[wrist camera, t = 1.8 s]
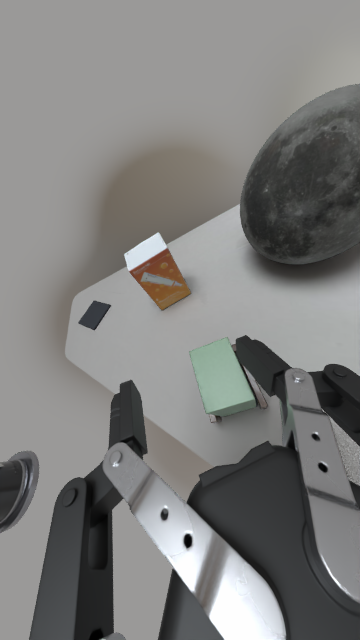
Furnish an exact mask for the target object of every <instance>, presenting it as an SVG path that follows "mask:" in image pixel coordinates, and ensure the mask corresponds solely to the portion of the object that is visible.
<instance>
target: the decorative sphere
mask: <svg viewBox="0 0 360 640" xmlns="http://www.w3.org/2000/svg"><path fill="white" fill-rule="evenodd" d="M240 217H241V224H242V228H243V231H244V233H245V236H246V238H247V239H248V241H249V243H250V244H251V245H252V246H253V248H254V249H255V250H256V251H258V252H259V253H260V254H261V255H263V256H264V257H266V258H268V259H270V260H273V261H276V262H280V263H285V264H307V263H313V262H317V261H321V260H324V259H327V258H330V257H333V256H335V255H337V254H340V253H342V252H344V251H346V250H348V249H349V248H351V247H353V246H354V245H356V244H358V243H359V242H360V84H355V85H349V86H345V87H342V88H338V89H335V90H333V91H330V92H328V93H326V94H324V95H322V96H319V97H317V98H316V99H314V100H312V101H310V102H309V103H308V104H306V105H304V106H303V107H301V108H300V109H298V110H297V111H296V112H295V113H293V114H292V115H291V116H290V117H289V118H288V119H287V120H285V121H284V122H283V123H282V124H281V125H280V126H279V127H278V128H277V129H276V130H275V132H274V133H273V134H272V135H271V136H270V137H269V139H268V140H267V141H266V142H265V144H264V145H263V147H262V148H261V150H260V151H259V153H258V154H257V156H256V158H255V159H254V161H253V163H252V165H251V167H250V170H249V172H248V174H247V177H246V180H245V183H244V186H243V190H242V195H241V202H240Z"/></svg>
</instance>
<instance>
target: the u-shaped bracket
mask: <svg viewBox="0 0 360 640" xmlns="http://www.w3.org/2000/svg"><path fill="white" fill-rule="evenodd" d="M232 348H233V351H234V353H235V355H236V344H234V345H232ZM236 357H237V355H236ZM237 358H238V357H237ZM240 364H241V366H242V368H243V370H244V372H245V375H246V377H247V379H248V381H249V384H250V386H251V388H252V390H253V392H254V395H255V397H256V399H257V401H258V403H259V406H260V408H261V410H262V409H266V408H267V407H268V405H267V403H266V401H265V399H264V397H263V395H262V393H261V391H260V388H259V386H258V384H257V382H256V380H255V378H254V377H253V376H252V375H251V374H250V373H249V371H248V370H247V369H246V368H245V367H244V366H243V364H242V363H241V362H240ZM209 417H210V420H211V423H217V422H221V417H220V416H217V415H211V414H209Z"/></svg>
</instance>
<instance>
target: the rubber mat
mask: <svg viewBox="0 0 360 640" xmlns="http://www.w3.org/2000/svg"><path fill="white" fill-rule="evenodd" d="M110 306H111V305H109V304H105V303H101V302H97V301H93V303H92V304H91V305H90V307H89V308H88V310H87V311H86V313H85V314H84V315H83V317H82V318H81V320H80V321H79V322H78V323H79V324H81V325H84V326H86V327H89V328H91V329H93V330H95V329H96V327H97V326H98V324H99V323H100V321H101V320H102V318H103V317H104V315H105V314H106V312H107V311H108V309H109V308H110Z"/></svg>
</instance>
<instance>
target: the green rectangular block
mask: <svg viewBox="0 0 360 640" xmlns="http://www.w3.org/2000/svg"><path fill="white" fill-rule="evenodd" d="M189 354H190V357H191V361H192V365H193V368H194V372H195V376H196V379H197V383H198V386H199V390H200V394H201V397H202V401H203V405H204V408H205V412H206V414H211V415H217V416H227V415H230V414H234V413H237V412H241V411H244V410H247V409H251V408H254V407H256V402H255V398H254V395H253V393H252V391H251V389H250V386H249V384H248V382H247V380H246V378H245V375H244V373H243V371H242V369H241V366H240V364H239V362H238V360H237V357H236V355H235V353H234V351H233V348H232V346H231V344H230V342H229V339H228V337H226V338H223V339H221V340H218V341H215V342H213V343H210V344H208V345H205V346H203V347H200V348H197V349H195V350H192V351H190V352H189Z"/></svg>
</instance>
